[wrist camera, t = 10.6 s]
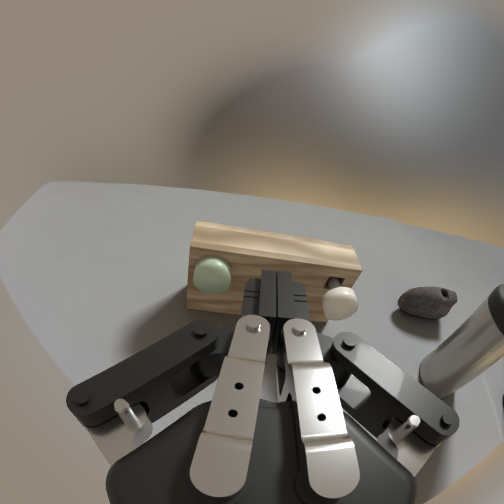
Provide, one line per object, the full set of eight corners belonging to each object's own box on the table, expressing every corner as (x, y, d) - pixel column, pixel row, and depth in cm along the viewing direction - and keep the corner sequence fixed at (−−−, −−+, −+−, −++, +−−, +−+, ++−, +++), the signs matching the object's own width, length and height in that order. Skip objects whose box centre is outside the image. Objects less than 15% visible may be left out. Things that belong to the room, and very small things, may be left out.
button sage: (227, 295, 33) (233, 271, 30) (191, 291, 32) (193, 265, 30) (229, 263, 37) (234, 238, 35) (197, 258, 37) (200, 233, 34)
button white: (348, 321, 34) (364, 300, 31) (319, 319, 33) (333, 298, 30) (339, 288, 38) (352, 267, 35) (311, 285, 37) (323, 263, 35)
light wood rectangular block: (327, 322, 42) (362, 270, 34) (186, 308, 38) (190, 246, 31) (321, 297, 45) (352, 245, 38) (190, 282, 42) (195, 220, 34)
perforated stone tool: (394, 318, 45) (414, 294, 41) (388, 297, 49) (407, 273, 45) (444, 325, 46) (464, 305, 42) (437, 307, 50) (455, 286, 46)
